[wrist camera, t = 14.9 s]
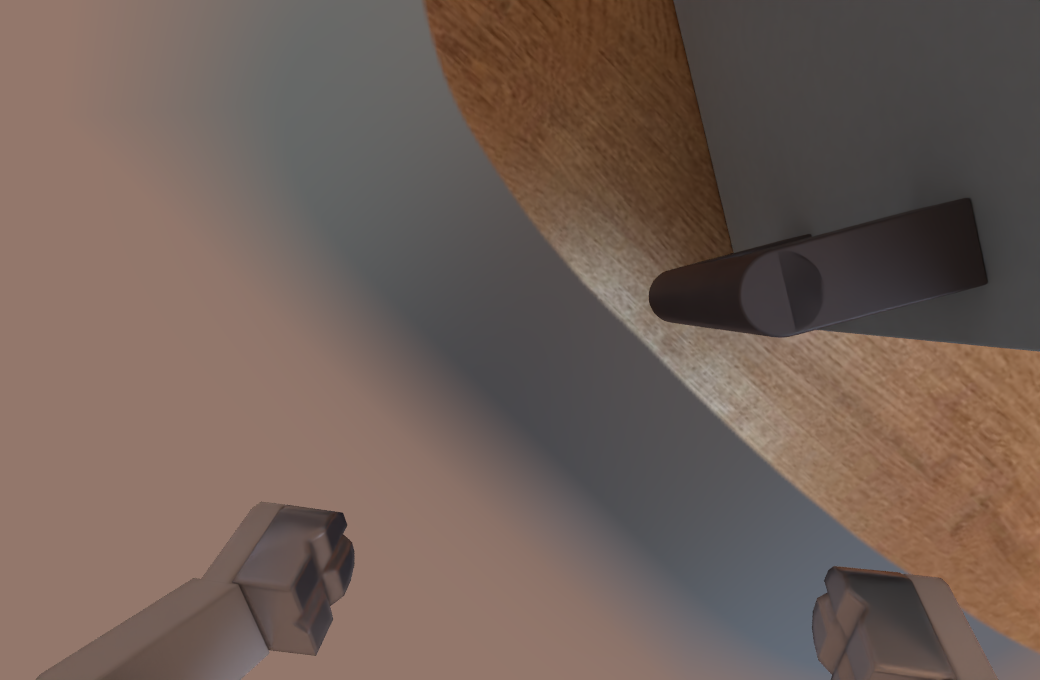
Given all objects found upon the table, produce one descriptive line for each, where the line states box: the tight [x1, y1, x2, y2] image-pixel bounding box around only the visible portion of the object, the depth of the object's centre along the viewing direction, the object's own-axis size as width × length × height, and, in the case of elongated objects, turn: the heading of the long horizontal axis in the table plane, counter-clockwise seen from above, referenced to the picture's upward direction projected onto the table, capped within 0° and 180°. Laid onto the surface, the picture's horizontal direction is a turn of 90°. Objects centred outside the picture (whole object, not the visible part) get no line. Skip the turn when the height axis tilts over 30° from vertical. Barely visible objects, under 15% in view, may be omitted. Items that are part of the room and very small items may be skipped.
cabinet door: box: [649, 0, 1040, 351], centre depth 17 cm, size 6×18×20 cm, turn 15°
